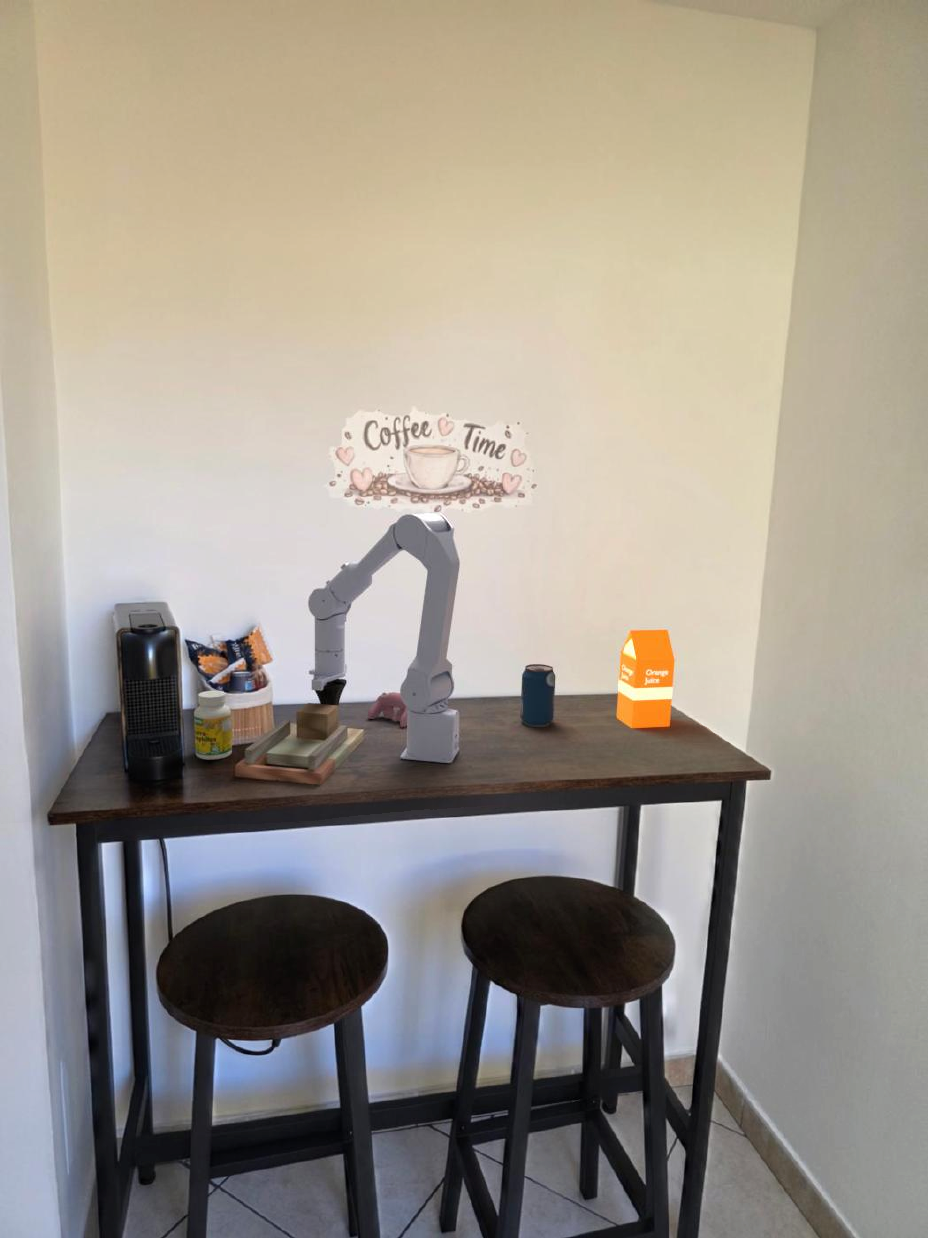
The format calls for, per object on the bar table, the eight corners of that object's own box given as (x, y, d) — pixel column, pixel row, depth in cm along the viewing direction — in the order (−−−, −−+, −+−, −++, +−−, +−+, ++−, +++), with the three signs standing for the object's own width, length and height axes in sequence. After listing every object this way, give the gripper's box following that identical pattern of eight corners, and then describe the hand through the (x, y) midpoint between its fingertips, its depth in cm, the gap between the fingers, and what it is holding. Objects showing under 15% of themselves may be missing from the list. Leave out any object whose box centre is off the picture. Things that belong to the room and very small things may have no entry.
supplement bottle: (238, 751, 152) (237, 691, 150) (218, 762, 146) (217, 700, 144) (208, 746, 153) (207, 687, 151) (187, 757, 147) (185, 696, 145)
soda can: (560, 724, 173) (562, 669, 171) (534, 729, 169) (536, 672, 167) (538, 716, 179) (541, 662, 177) (513, 720, 175) (515, 665, 173)
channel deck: (363, 739, 160) (363, 717, 159) (320, 785, 137) (320, 759, 136) (290, 733, 163) (290, 710, 162) (235, 776, 139) (234, 751, 139)
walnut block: (338, 730, 158) (338, 705, 158) (327, 740, 153) (327, 714, 152) (308, 728, 159) (308, 703, 159) (296, 737, 154) (296, 711, 153)
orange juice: (670, 726, 174) (677, 633, 171) (631, 728, 172) (638, 634, 169) (652, 715, 182) (659, 626, 178) (615, 717, 180) (621, 626, 176)
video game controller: (414, 732, 171) (423, 699, 172) (402, 727, 167) (412, 693, 168) (376, 723, 176) (385, 691, 177) (364, 718, 172) (374, 685, 174)
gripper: (323, 640, 168) (323, 705, 170) (295, 655, 154) (296, 726, 156) (356, 642, 166) (356, 708, 169) (332, 658, 152) (332, 729, 155)
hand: (329, 717), depth 162 cm, fingers closed
